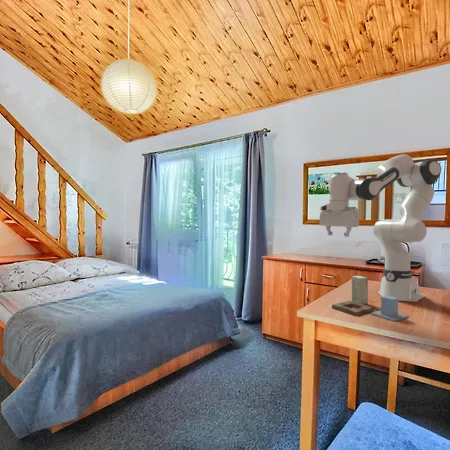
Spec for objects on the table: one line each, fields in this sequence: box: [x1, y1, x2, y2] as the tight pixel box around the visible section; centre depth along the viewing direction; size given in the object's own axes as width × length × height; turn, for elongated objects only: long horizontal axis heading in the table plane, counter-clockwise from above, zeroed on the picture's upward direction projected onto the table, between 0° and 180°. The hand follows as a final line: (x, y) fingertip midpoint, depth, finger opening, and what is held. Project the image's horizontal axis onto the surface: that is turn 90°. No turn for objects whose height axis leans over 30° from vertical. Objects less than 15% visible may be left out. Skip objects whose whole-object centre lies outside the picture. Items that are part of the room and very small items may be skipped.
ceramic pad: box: [370, 309, 409, 323], centre depth 127 cm, size 10×10×1 cm
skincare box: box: [351, 275, 369, 305], centre depth 145 cm, size 6×4×12 cm
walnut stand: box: [331, 300, 375, 317], centre depth 135 cm, size 12×12×2 cm
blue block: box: [380, 295, 399, 317], centre depth 127 cm, size 4×4×7 cm
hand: (338, 235), depth 148 cm, fingers open, 8 cm apart
